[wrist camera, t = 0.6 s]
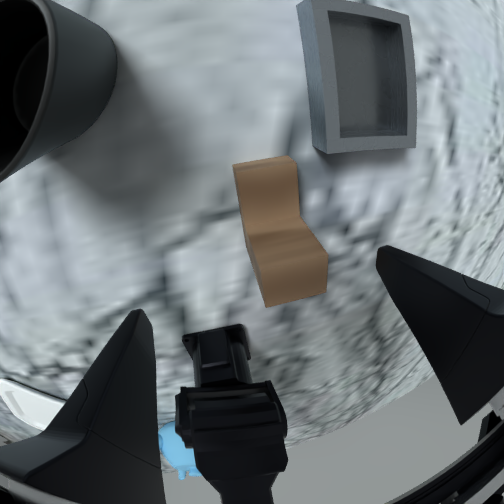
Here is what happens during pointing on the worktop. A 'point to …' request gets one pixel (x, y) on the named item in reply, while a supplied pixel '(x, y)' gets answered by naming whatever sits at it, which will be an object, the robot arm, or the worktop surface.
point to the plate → (30, 403)
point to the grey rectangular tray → (358, 76)
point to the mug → (49, 78)
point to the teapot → (177, 451)
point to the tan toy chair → (278, 232)
